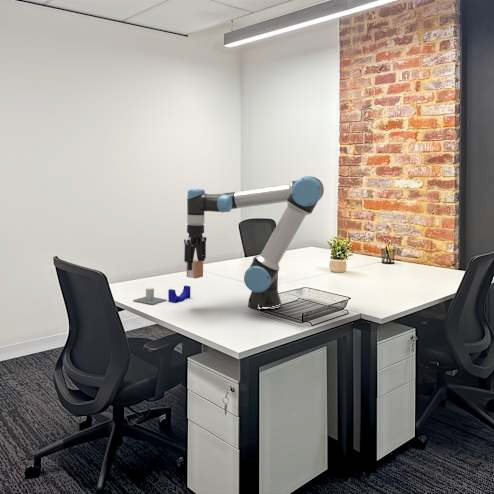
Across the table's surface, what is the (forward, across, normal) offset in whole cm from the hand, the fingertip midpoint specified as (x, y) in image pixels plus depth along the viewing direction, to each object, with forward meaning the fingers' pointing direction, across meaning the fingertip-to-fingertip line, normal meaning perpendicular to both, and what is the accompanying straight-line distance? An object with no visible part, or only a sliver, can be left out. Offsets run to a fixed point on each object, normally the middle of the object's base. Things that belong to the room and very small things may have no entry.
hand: (195, 276), depth 234 cm
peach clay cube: (0, 0, 0) cm, 0 cm away
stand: (+15, +1, -26) cm, 30 cm away
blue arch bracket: (+15, -9, -15) cm, 23 cm away
